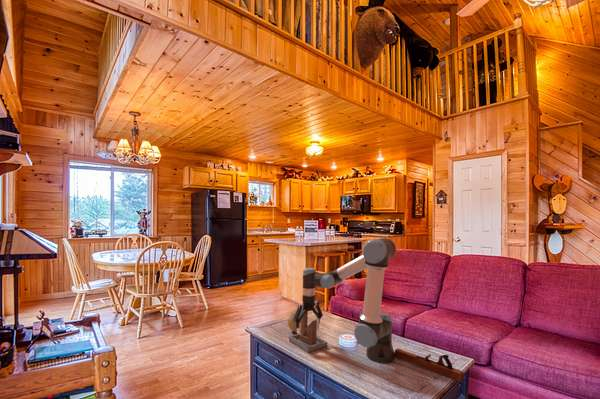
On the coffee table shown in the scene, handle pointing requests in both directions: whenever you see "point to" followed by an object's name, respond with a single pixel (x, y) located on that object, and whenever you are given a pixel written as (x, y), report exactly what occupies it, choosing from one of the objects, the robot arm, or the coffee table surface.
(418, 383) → the coffee table surface
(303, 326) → the brown wooden piece
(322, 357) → the coffee table surface
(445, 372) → the hand plane
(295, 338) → the tray
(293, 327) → the fossilized egg
